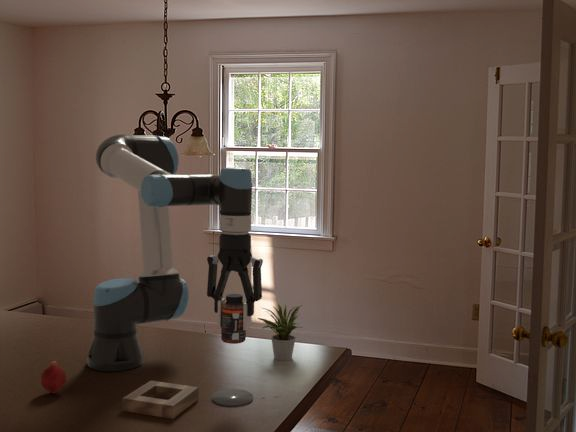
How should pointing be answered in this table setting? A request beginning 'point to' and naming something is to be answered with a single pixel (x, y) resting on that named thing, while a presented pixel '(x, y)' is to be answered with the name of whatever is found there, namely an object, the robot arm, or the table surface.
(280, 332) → the house plant
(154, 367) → the table surface
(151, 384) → the pocket holder
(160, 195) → the robot arm
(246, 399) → the grey domed disc
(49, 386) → the onion
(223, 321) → the supplement bottle
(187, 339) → the table surface
